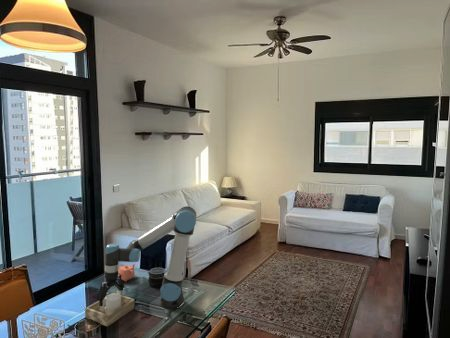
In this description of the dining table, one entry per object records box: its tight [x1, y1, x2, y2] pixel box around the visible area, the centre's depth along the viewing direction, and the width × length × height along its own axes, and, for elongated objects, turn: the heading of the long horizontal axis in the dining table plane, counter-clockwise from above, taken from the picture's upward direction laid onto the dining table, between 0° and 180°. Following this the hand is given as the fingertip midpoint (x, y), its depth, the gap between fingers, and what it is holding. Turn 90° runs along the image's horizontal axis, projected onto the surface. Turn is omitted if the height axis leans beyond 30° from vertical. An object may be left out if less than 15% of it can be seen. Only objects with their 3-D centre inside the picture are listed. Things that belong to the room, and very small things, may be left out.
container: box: [147, 267, 166, 288], centre depth 232 cm, size 13×13×10 cm
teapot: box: [118, 262, 137, 283], centre depth 237 cm, size 14×12×10 cm
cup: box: [104, 292, 122, 315], centre depth 190 cm, size 8×12×10 cm
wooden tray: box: [84, 294, 136, 327], centre depth 191 cm, size 17×22×6 cm
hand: (110, 305), depth 190 cm, fingers open, 13 cm apart
